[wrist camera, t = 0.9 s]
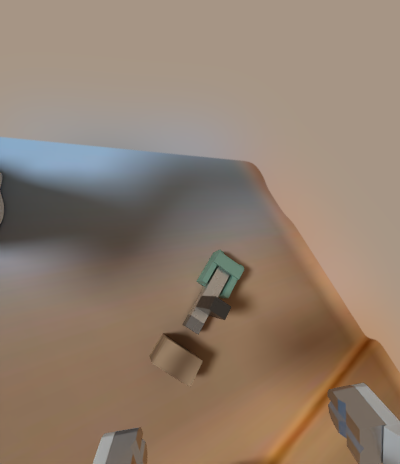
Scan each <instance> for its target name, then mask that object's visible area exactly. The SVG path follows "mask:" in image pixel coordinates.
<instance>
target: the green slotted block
mask: <svg viewBox="0 0 400 464" xmlns="http://www.w3.org/2000/svg"><path fill="white" fill-rule="evenodd" d="M217 265H218V266H219V267H221V268H222V269H223V270H225V271H226V272H228V273H229V274H230V275H229V277H228V279H227V281H226V283H225V285H224V287H223V289H222V291H221V292H220V294H219V296H218V297H220V298H229V296H230V294H231V292H232V290H233V288H234V286H235V284H236V282H237V280H238V279H240V277H241V275H242V273H243V271H244V267H243V266H242V265H241V264H239V265H238V264H237V263H236V262H234V261H233V260H232V259H230V258H229V257H227V256H226V255H225V254H224V252H222V251H221V250H218V251H216V252H214V253H213V254H212V256H211V258H210V259H209V261H208V263H207V264H206V266H205V268H204V270H203V271H202V273H201V275H200V276H199V278H198V280H197V282H198V283H199V284H201V285H202V286H205V284H207V282H208V280H209V278H210V277H211V275H212V273H213V271H214V270H215V268H216V266H217Z"/></svg>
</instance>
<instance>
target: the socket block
mask: <svg viewBox="0 0 400 464" xmlns="http://www.w3.org/2000/svg"><path fill="white" fill-rule="evenodd" d="M150 359H151V362H152V364H153V365H155V366H156V367H158V368H160V369H161V370H163V371H165V372H166V373H168V374H170V375H171V376H173V377H174V378H176V379H178V380H179V381H181V382H183V383H184V384H186V385H187V386H189V387H191V385H192V383H193V380H194V378H195V376H196V374H197V372H198V370H199V368H200V366H201V364H202V362H203V361H202V360H201V359H200V358H199V357H198V356H197V355H195V354H194V353H193V352H191V351H189V350H188V349H186V348H185V347H183V346H182V345H180V344H178V343H177V342H175V341H174V340H172V339H171V338H169V337H167V336H166V335H164V334H162V336H161V337H160V339H159V341H158V342H157V344H156V346H155V347H154V349H153V351H152V353H151V354H150Z"/></svg>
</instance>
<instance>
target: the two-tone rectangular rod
mask: <svg viewBox="0 0 400 464" xmlns="http://www.w3.org/2000/svg"><path fill="white" fill-rule="evenodd" d="M229 275H230V274H229V273H228V272H226V271H225V270H223V269H222V268H221V267H219V266H218V265H217V266H216V268H215V270H214V271H213V273H212V275H211V277H210V278H209V280H208V282H207V284H205V286H204V288H203V290H202V291H201V293H200V295H199V297H198V298H197V300H196V302H195V304H194V305H193V307H192V309H191V311H190V313H189V314H188V316H187V318H186V320H185V321H184V323H183V325H184V326H186V327H187V328H189V329H190V330H192V331H193V332H195V333H197V334H199V332H200V331H201V329H202V327H203V325H204V323H205V321H206V319H207V317H208V315H209V316H212V317H216V318H219V319H223V320H225V319H226V317H227V315H228V313H229V311H230V309H231V306H229V305H228V304H226V303H225V302H224V301H222V300H221V299H219V298H218V296H219V294H220V292H221V291H222V289H223V287H224V285H225V283H226V281H227V279H228V277H229Z"/></svg>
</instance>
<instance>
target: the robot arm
mask: <svg viewBox="0 0 400 464" xmlns="http://www.w3.org/2000/svg"><path fill="white" fill-rule="evenodd" d="M1 183H2V174H1V172H0V187H1ZM3 215H4V203H3V199H2V196H1V192H0V224H1V222H2V219H3ZM328 397H329V399H330V400H331V402H330V403H329V405H328V407H329V413H330V416H331V419H332V421H333V423H334V425H335V427H336V429H337V430H338V432H339V433H340V434H341V435H342V436H344V437H345V438H347V447H348V448H349V450H350V452H351V453H352V455H353V456H354V458H355V460H356V461H357V463H358V464H381V463H383V464H400V421H399V420H398V419H397V418H396V416H395V415H394V414H393V413H392V412H391V411H390V410H389V409H388V408H387V407H386V406H385V404H384V403H383V402H382V401H381V400H380V399H379V398H378V397H377V396H376V395H375V394H374V392H373V391H372V390H371V389H370V388H369V387H368V386H367V385H366V384H364V383H359V384H354V385H347V386H343V387H338V388H334V389H329V390H328ZM142 436H143V432H142V429H141V427H139V428H134V429H128V430H122V431H115V432H110V433H105V434H104V435H103V437H102V438H101V441H100V444H99V447H98V450H97V453H96V456H95V458H94V461H93V464H147V445H146V442H145V441H144V440H143V439H142Z"/></svg>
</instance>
